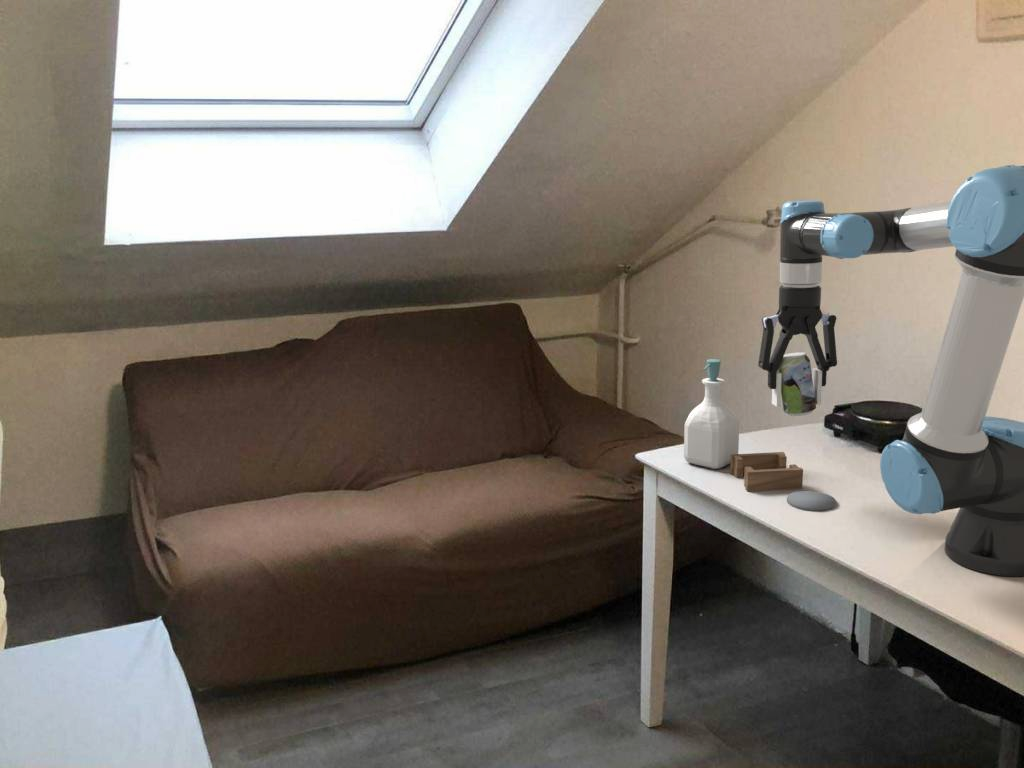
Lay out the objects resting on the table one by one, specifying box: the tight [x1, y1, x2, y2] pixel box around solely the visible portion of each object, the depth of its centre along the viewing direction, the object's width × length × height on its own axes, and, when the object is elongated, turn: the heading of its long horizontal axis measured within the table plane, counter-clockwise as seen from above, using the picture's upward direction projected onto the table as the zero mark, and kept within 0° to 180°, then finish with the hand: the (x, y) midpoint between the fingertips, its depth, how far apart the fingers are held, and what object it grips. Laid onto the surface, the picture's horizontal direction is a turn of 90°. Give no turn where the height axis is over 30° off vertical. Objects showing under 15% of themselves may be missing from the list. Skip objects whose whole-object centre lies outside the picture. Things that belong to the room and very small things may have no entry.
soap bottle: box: [683, 358, 740, 470], centre depth 205 cm, size 10×10×23 cm
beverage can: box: [778, 351, 817, 417], centre depth 183 cm, size 6×7×12 cm
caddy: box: [729, 451, 804, 492], centre depth 195 cm, size 11×11×4 cm
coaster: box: [786, 490, 837, 512], centre depth 184 cm, size 9×9×1 cm
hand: (796, 403), depth 184 cm, fingers closed on beverage can, 7 cm apart
